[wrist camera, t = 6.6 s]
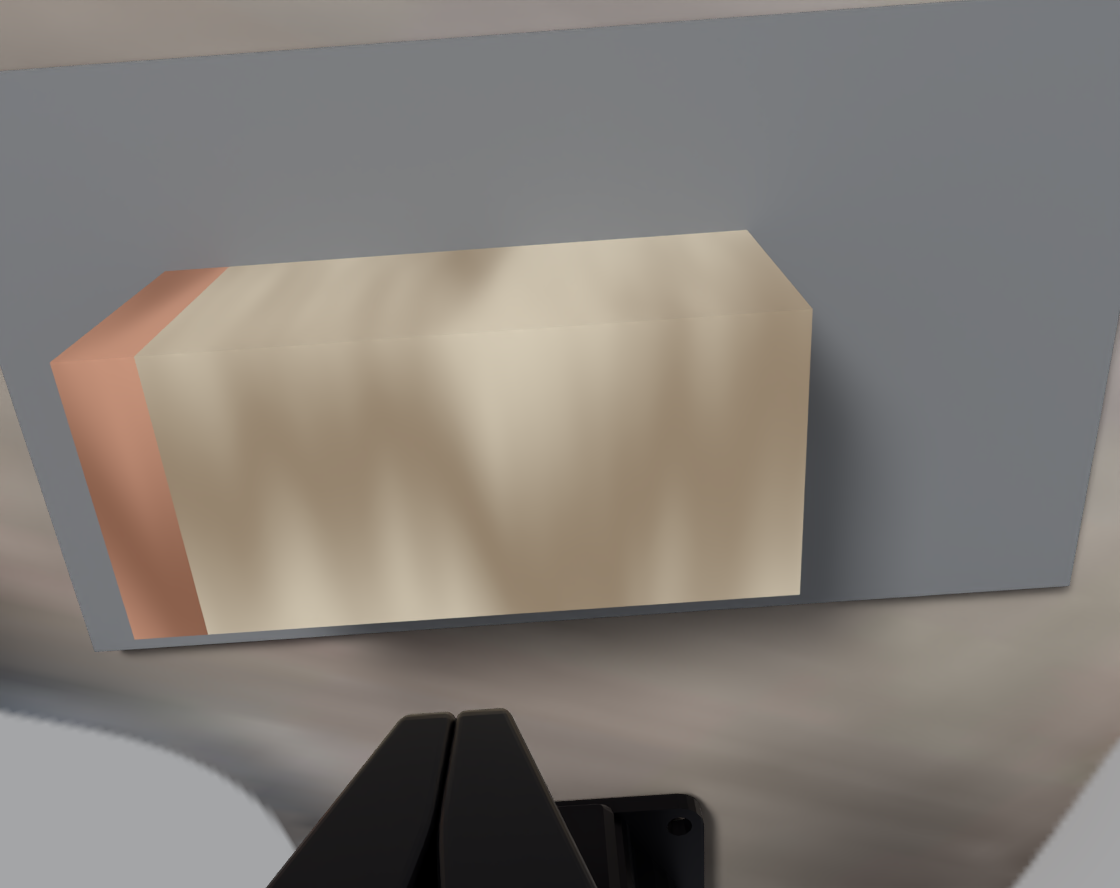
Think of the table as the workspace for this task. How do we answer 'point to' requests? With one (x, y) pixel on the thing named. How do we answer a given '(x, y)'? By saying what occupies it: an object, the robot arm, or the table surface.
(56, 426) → the rubber mat
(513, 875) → the robot arm
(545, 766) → the table surface
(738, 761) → the table surface
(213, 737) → the table surface
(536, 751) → the table surface
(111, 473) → the beech block
